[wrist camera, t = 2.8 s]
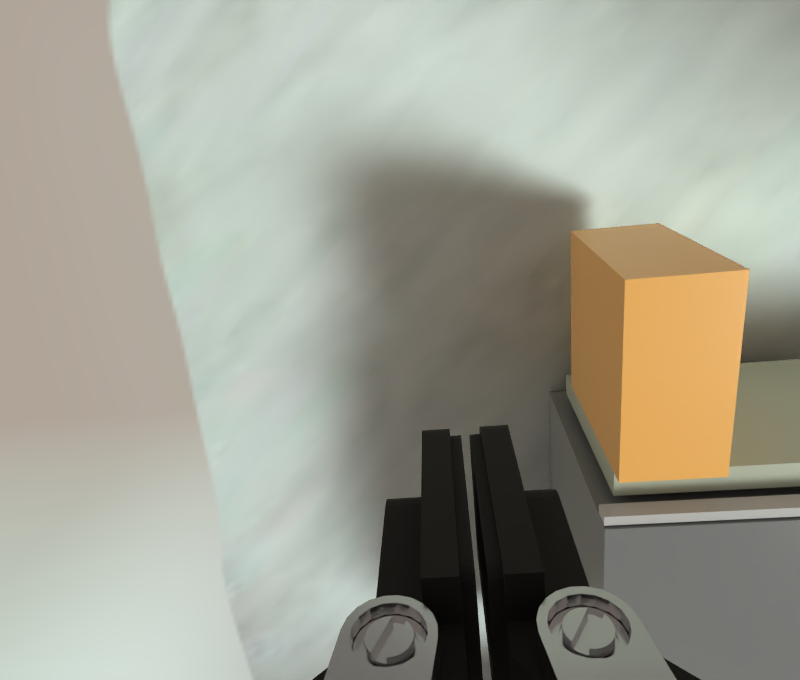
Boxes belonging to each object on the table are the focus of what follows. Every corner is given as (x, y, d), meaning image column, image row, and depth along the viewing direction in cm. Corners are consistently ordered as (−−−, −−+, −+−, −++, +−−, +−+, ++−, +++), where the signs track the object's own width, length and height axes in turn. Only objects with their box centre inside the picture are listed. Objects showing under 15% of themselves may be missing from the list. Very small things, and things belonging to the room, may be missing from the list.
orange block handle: (824, 202, 21) (1012, 248, 14) (798, 377, 24) (950, 489, 17) (565, 225, 22) (625, 279, 15) (566, 393, 25) (618, 506, 18)
